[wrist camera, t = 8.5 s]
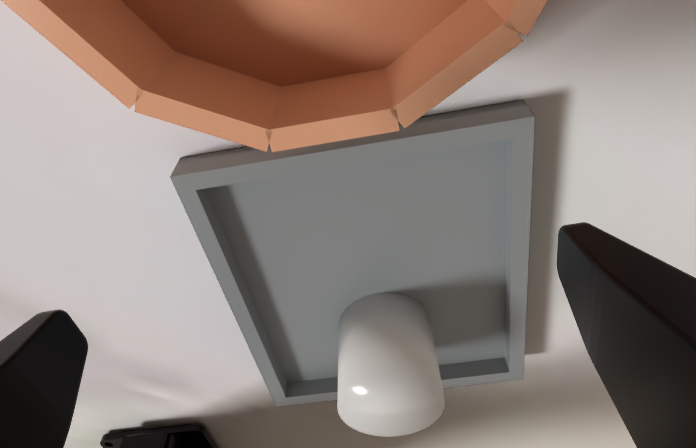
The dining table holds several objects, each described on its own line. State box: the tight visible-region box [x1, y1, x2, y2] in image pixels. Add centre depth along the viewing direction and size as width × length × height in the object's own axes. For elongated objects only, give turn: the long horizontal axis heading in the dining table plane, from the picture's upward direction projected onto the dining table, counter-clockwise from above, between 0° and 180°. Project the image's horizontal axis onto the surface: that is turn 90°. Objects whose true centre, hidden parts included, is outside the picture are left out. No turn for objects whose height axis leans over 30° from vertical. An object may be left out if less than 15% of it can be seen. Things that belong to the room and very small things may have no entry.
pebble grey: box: [337, 293, 445, 437], centre depth 22 cm, size 4×4×4 cm
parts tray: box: [170, 100, 535, 407], centre depth 22 cm, size 14×13×1 cm
